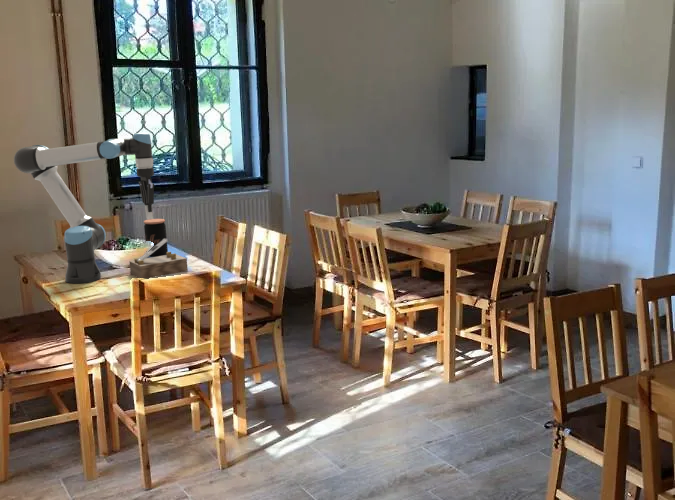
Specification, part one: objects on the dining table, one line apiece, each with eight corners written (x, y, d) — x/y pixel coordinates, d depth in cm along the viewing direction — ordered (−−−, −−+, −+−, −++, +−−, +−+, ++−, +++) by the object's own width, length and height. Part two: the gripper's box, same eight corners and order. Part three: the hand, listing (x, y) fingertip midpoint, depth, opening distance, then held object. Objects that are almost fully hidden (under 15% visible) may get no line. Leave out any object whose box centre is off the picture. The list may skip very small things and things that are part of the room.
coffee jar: (142, 256, 364) (139, 221, 360) (156, 252, 373) (153, 218, 369) (158, 257, 359) (155, 222, 355) (172, 253, 368) (169, 219, 364)
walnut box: (141, 279, 317) (139, 261, 315) (130, 273, 328) (128, 256, 326) (187, 271, 329) (186, 253, 328) (175, 265, 341) (174, 249, 339)
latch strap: (139, 263, 321) (138, 261, 320) (137, 262, 323) (135, 260, 323) (168, 241, 327) (166, 238, 327) (165, 240, 330) (164, 237, 329)
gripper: (158, 167, 320) (163, 219, 325) (147, 166, 330) (152, 216, 335) (142, 169, 316) (147, 221, 321) (131, 167, 326) (136, 218, 331)
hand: (149, 218), depth 328 cm, fingers closed
